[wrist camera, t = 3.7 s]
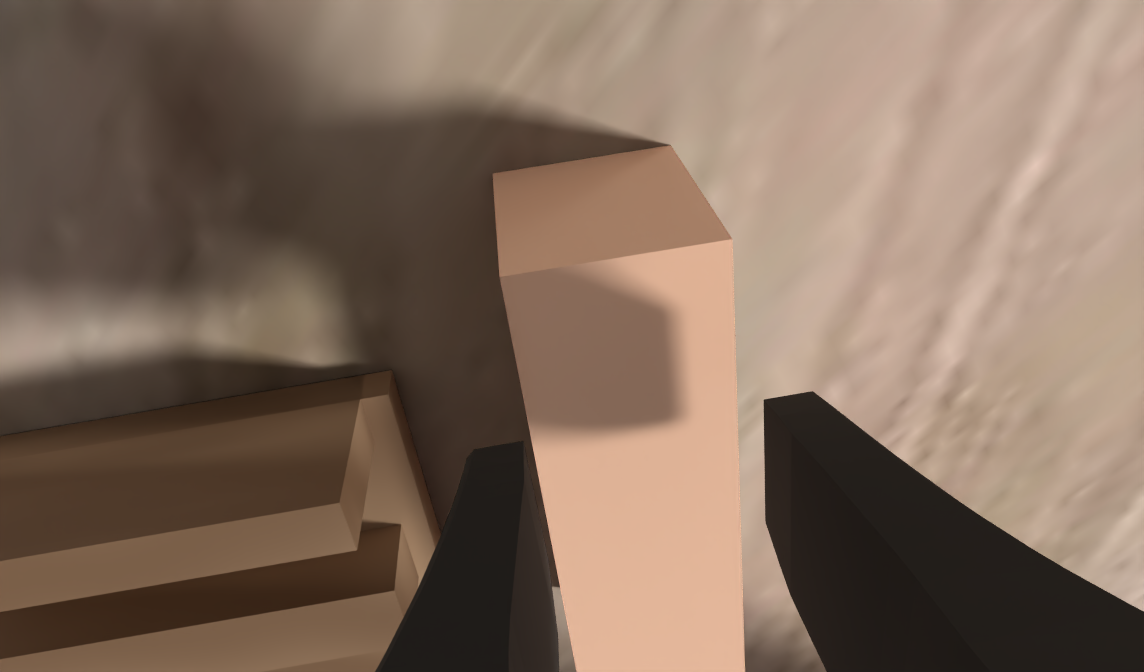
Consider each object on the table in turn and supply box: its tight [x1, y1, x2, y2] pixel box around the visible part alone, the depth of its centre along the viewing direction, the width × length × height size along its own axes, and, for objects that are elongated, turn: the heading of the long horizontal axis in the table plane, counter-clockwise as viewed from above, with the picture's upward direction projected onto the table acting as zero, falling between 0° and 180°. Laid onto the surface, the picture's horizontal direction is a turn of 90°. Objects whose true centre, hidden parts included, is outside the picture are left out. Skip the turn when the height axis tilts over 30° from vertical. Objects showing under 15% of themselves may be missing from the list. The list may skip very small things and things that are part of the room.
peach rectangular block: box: [493, 145, 745, 672], centre depth 15 cm, size 10×3×4 cm, turn 7°
